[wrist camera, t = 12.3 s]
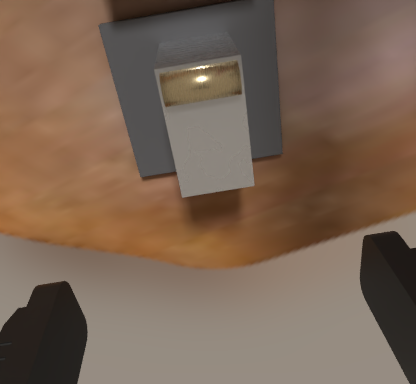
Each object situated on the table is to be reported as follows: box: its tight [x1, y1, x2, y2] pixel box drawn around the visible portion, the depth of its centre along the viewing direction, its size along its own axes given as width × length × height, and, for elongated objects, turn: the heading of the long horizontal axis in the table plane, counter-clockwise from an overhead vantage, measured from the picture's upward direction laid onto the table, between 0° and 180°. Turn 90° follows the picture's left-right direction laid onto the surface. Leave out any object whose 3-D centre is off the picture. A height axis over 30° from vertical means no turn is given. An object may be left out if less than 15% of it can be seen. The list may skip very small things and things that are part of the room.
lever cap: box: [154, 32, 254, 198], centre depth 22 cm, size 7×4×7 cm, turn 9°
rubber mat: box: [99, 0, 283, 177], centre depth 25 cm, size 10×10×1 cm
